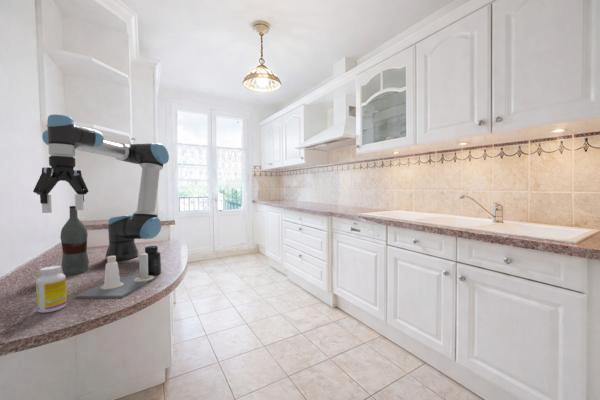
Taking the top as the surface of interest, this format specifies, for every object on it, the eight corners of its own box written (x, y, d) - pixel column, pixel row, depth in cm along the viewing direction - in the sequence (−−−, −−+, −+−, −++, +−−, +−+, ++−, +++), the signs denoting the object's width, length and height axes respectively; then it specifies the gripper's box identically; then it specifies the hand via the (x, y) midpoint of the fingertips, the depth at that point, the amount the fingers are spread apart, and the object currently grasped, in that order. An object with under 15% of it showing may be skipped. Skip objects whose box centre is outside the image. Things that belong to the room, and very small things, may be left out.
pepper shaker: (108, 289, 93) (106, 258, 93) (100, 286, 96) (99, 257, 95) (124, 284, 98) (123, 255, 98) (116, 281, 101) (115, 253, 100)
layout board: (118, 277, 108) (117, 252, 108) (157, 277, 108) (156, 252, 108) (75, 298, 88) (74, 266, 88) (123, 297, 88) (122, 266, 87)
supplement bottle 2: (159, 270, 119) (159, 244, 118) (162, 274, 113) (161, 246, 113) (142, 273, 114) (141, 246, 114) (144, 277, 109) (143, 249, 109)
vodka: (58, 276, 111) (55, 206, 110) (66, 270, 119) (63, 205, 119) (85, 273, 115) (83, 206, 114) (91, 267, 124) (89, 205, 123)
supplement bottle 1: (72, 304, 83) (71, 264, 83) (52, 313, 77) (50, 271, 76) (52, 303, 83) (51, 264, 83) (30, 313, 77) (28, 270, 76)
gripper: (80, 160, 112) (82, 209, 113) (16, 151, 87) (19, 214, 88) (97, 160, 112) (99, 209, 113) (38, 151, 87) (41, 214, 88)
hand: (64, 211), depth 100 cm, fingers open, 13 cm apart
